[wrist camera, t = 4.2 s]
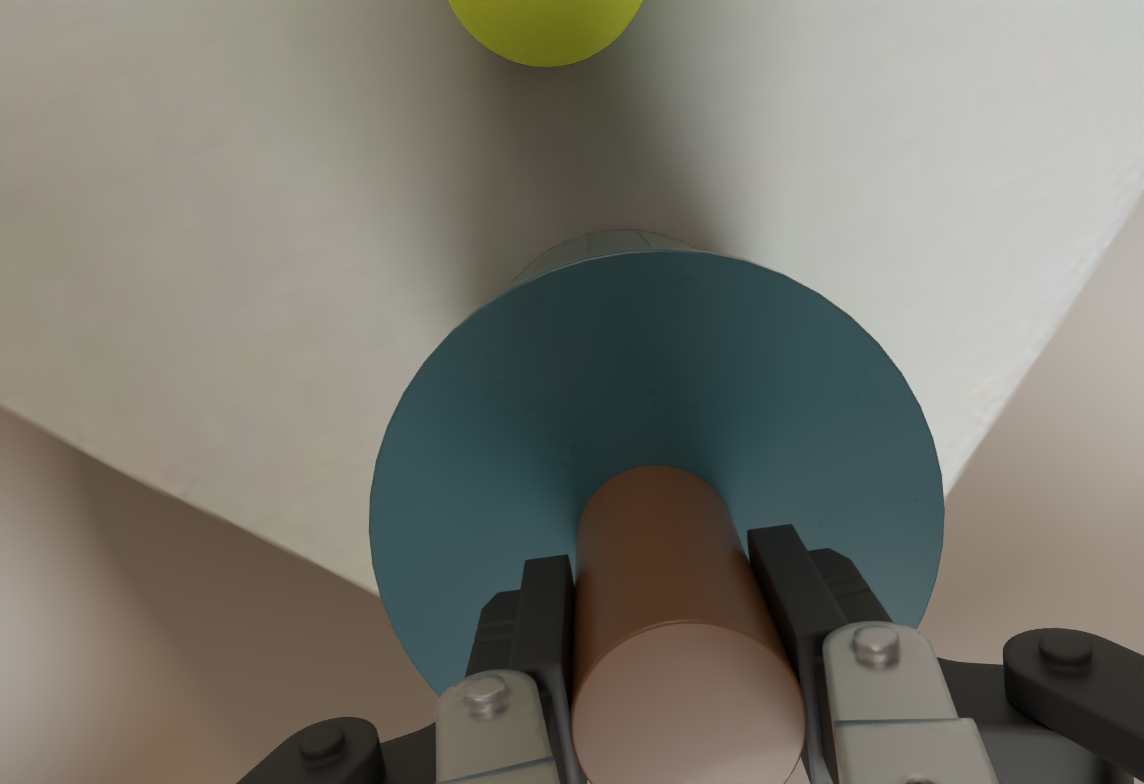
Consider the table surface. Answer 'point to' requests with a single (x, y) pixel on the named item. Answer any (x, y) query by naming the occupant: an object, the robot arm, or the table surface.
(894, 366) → the tube lid
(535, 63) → the tennis ball
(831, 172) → the table surface
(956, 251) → the table surface
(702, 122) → the table surface
